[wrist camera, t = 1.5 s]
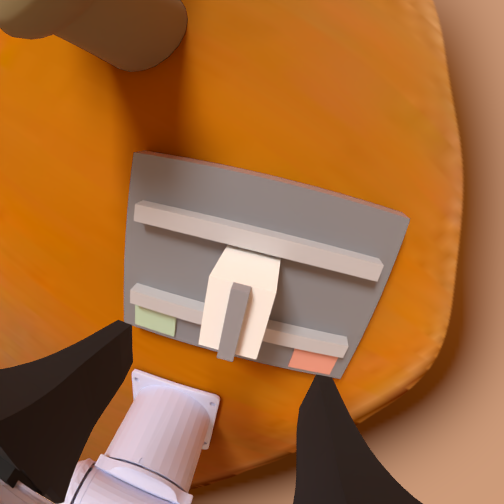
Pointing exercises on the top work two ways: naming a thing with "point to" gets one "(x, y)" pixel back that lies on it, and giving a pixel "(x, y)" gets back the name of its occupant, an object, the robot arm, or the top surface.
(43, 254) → the top surface
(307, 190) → the switch panel
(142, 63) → the pepper mill
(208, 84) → the top surface
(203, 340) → the block
